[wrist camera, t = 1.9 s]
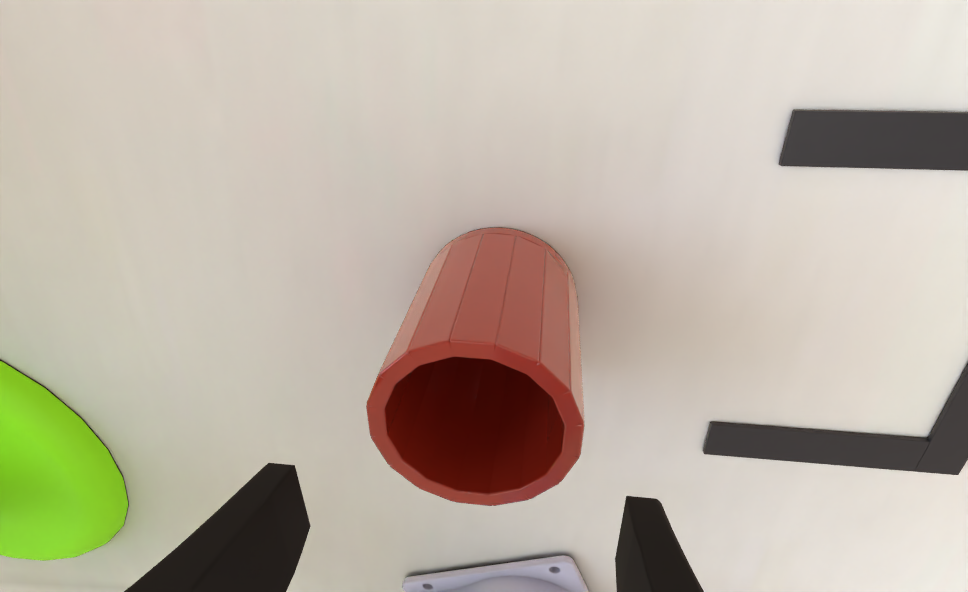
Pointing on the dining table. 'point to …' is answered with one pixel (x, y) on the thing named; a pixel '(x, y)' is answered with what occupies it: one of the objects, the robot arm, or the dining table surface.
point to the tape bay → (866, 144)
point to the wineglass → (52, 476)
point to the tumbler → (485, 373)
